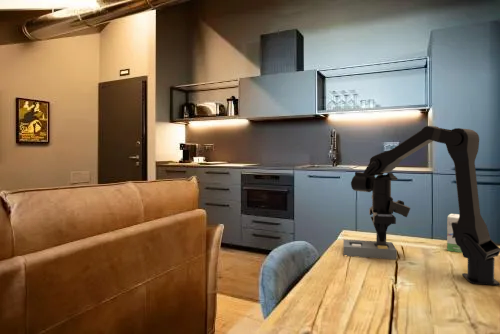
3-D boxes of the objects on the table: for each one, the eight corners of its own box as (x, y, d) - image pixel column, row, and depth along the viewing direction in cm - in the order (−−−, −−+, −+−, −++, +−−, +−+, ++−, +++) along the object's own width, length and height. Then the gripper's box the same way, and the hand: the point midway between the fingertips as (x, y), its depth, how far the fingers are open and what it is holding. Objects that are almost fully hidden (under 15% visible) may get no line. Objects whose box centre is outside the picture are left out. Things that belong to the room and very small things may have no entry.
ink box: (463, 253, 111) (464, 218, 111) (446, 250, 114) (446, 216, 114) (465, 247, 118) (466, 214, 118) (449, 245, 121) (449, 213, 121)
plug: (386, 250, 108) (386, 225, 108) (376, 249, 109) (377, 225, 109) (385, 247, 111) (385, 224, 111) (375, 247, 112) (376, 223, 112)
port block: (396, 259, 104) (396, 248, 104) (343, 255, 109) (343, 245, 108) (391, 250, 114) (391, 240, 114) (343, 247, 118) (343, 238, 118)
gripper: (414, 197, 99) (414, 249, 99) (402, 191, 117) (402, 235, 117) (374, 196, 102) (374, 247, 102) (369, 190, 120) (369, 233, 120)
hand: (381, 240), depth 110 cm, fingers closed on plug, 3 cm apart
